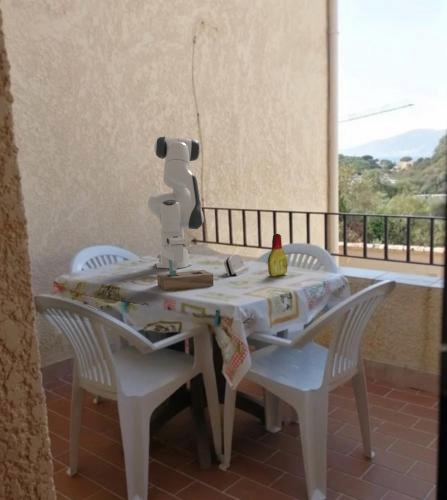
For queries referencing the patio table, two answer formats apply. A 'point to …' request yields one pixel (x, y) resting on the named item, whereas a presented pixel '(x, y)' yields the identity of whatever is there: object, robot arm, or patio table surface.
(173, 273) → the peg
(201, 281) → the hole block
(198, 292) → the patio table surface
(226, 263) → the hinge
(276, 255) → the bottle
